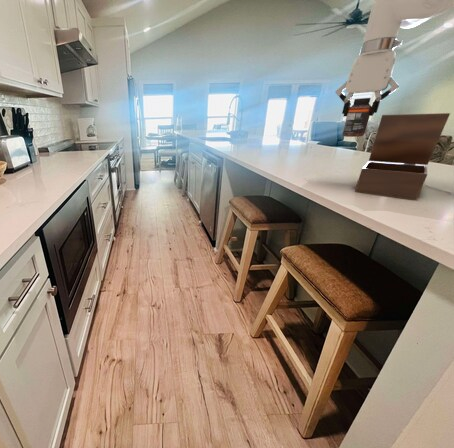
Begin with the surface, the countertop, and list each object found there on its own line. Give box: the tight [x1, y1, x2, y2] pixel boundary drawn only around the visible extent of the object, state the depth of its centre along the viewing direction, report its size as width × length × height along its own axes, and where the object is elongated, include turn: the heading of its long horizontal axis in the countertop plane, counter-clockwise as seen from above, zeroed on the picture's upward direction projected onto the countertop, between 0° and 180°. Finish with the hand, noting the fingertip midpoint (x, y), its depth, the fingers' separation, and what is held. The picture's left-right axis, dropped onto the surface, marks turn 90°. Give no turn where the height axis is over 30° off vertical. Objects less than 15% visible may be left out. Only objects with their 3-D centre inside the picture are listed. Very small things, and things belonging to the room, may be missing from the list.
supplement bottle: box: [341, 97, 372, 138], centre depth 78 cm, size 6×6×11 cm
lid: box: [368, 112, 451, 166], centre depth 75 cm, size 15×14×1 cm
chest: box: [354, 161, 428, 201], centre depth 77 cm, size 14×14×8 cm
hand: (358, 115), depth 78 cm, fingers closed on supplement bottle, 6 cm apart
